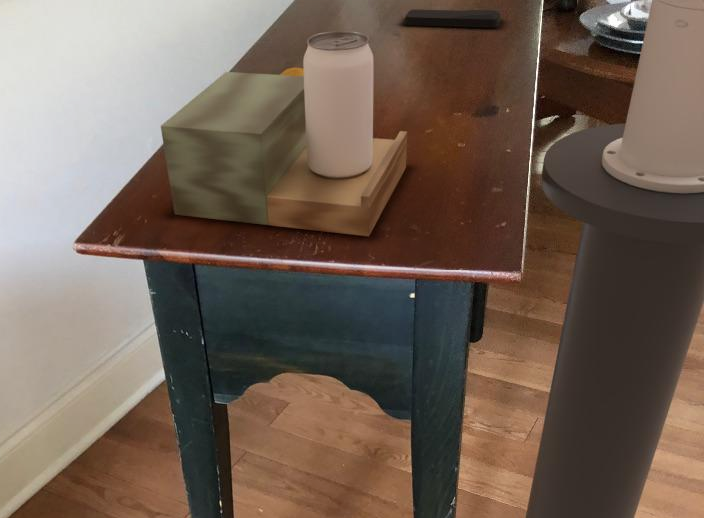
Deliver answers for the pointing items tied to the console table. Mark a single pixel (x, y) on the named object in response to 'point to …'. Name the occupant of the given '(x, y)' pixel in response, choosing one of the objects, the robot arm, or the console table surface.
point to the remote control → (453, 18)
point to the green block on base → (268, 161)
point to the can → (339, 104)
